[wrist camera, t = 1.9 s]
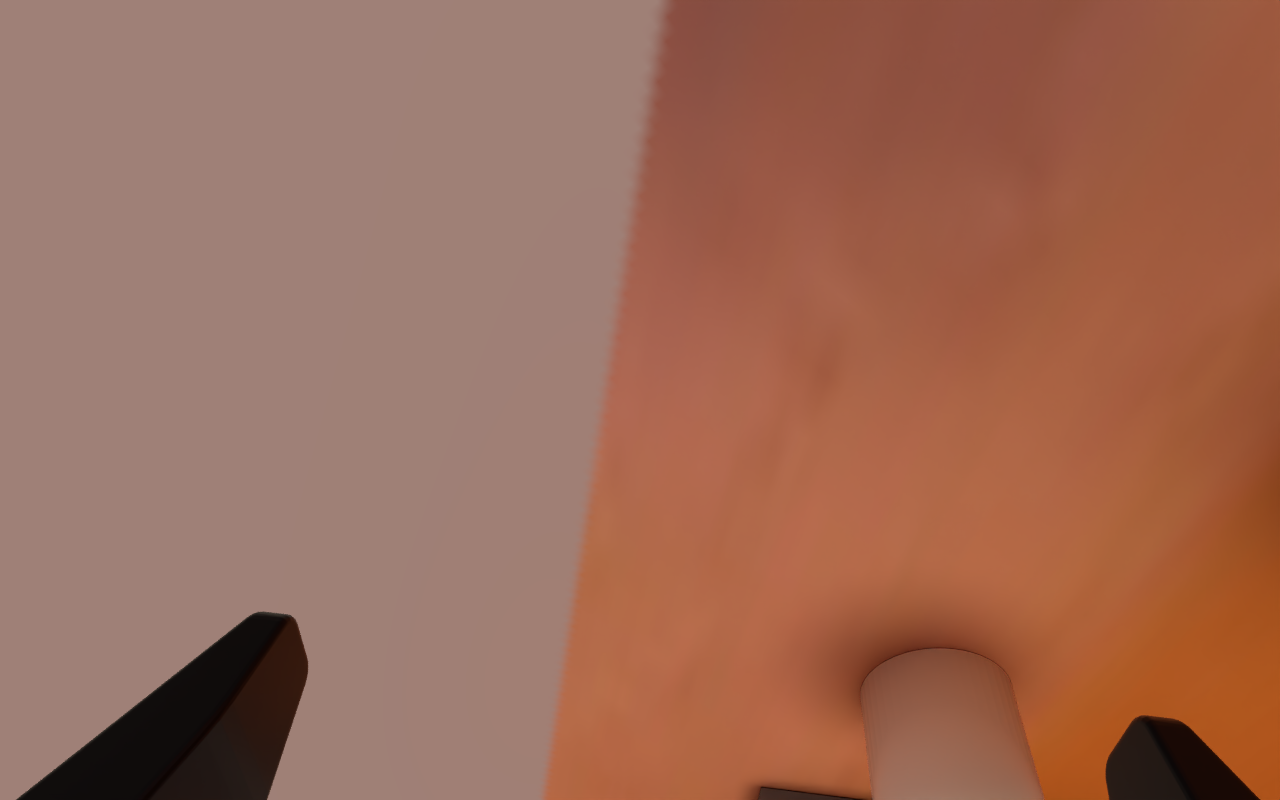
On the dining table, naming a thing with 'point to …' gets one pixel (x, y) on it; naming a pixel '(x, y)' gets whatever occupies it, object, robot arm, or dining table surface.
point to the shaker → (945, 730)
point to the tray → (792, 795)
